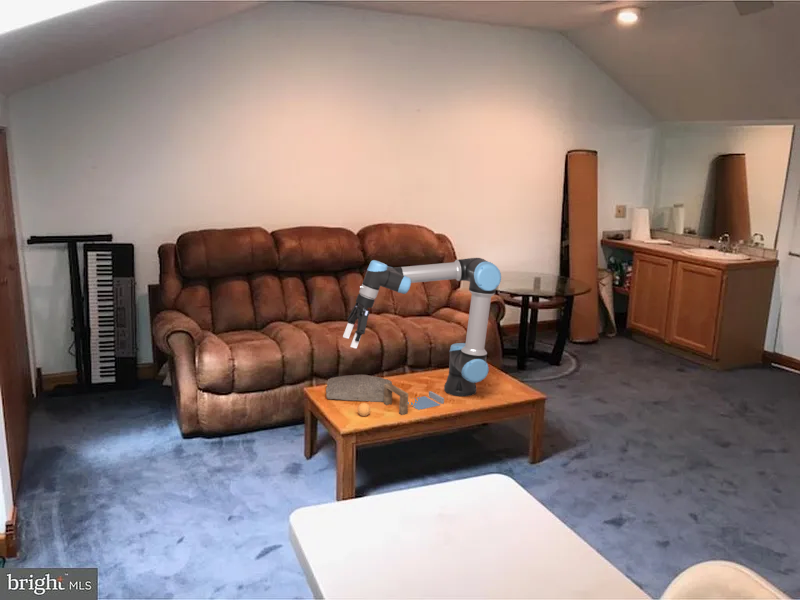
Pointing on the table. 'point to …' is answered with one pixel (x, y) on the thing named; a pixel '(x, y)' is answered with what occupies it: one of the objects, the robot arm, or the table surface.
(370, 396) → the stone tablet
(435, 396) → the wall
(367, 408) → the ball
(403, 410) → the bridge
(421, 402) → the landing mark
